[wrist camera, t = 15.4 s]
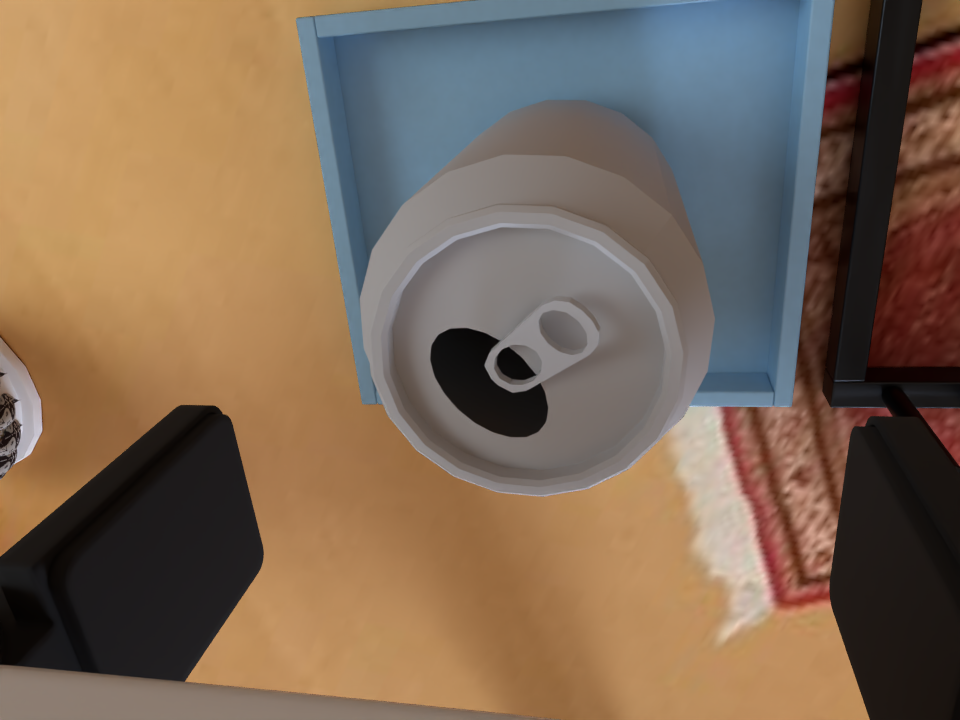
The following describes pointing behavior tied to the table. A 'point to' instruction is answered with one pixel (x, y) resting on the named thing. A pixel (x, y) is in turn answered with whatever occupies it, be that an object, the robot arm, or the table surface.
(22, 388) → the decorative candle
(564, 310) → the can
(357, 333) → the tray
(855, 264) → the dish rack
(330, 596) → the table surface
